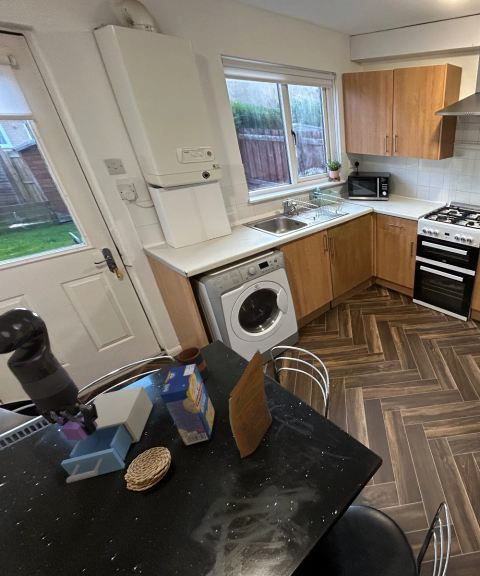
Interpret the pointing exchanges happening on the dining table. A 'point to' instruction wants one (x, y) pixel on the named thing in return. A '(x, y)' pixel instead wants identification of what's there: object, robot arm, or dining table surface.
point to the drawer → (98, 453)
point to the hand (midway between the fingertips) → (83, 431)
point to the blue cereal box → (188, 403)
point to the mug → (193, 360)
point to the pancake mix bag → (249, 407)
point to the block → (75, 430)
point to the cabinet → (124, 410)
